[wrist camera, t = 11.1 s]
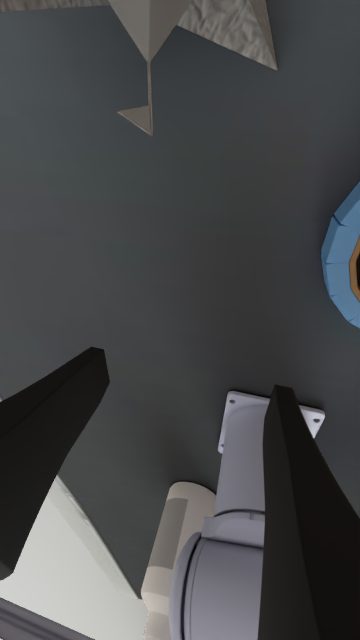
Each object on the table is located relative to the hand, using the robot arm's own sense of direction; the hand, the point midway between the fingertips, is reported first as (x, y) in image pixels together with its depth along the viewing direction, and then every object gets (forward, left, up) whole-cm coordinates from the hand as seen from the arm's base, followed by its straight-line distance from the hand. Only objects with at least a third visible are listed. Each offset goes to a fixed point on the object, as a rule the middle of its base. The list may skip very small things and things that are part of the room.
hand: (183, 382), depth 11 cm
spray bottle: (-32, 0, -10) cm, 33 cm away
